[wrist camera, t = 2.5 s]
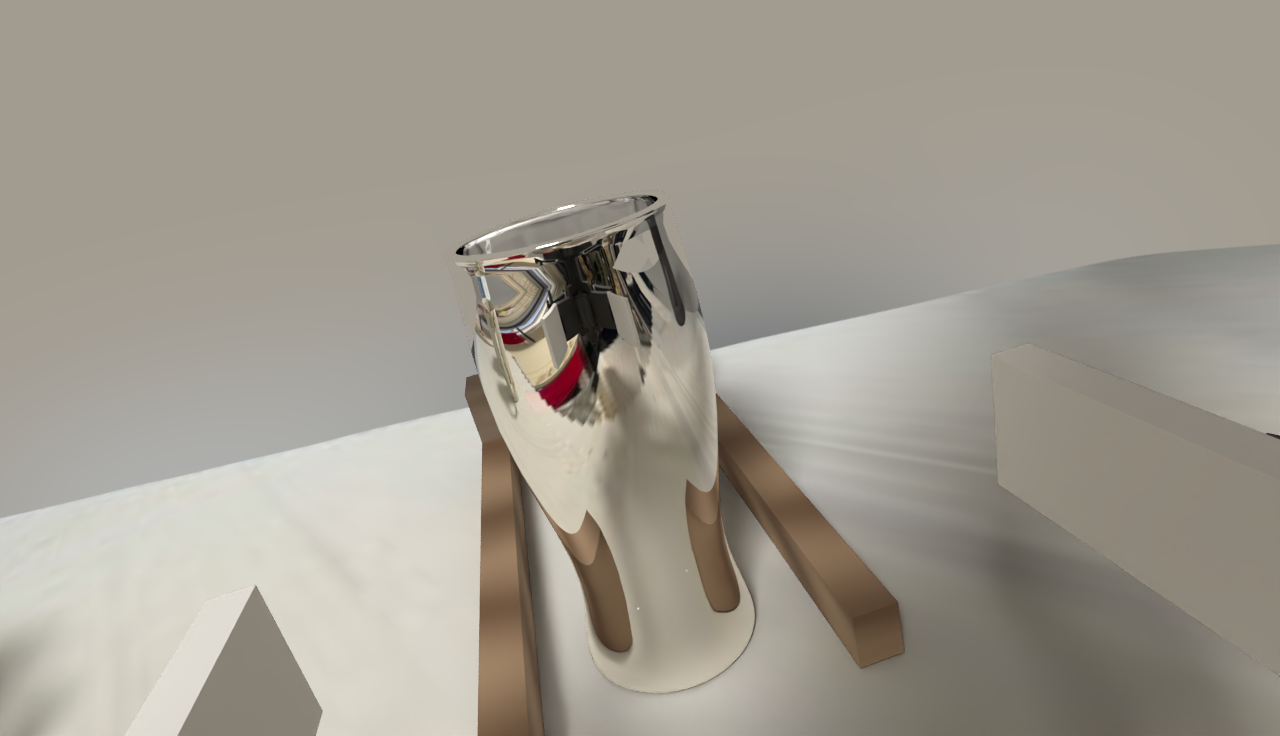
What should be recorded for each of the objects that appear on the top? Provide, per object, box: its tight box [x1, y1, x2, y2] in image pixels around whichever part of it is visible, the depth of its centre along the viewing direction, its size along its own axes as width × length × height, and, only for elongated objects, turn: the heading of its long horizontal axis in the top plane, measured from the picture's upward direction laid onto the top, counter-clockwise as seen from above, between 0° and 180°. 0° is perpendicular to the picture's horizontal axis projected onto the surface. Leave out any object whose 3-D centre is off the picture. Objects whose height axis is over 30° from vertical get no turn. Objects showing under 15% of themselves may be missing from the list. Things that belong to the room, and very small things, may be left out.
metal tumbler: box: [444, 190, 755, 693], centre depth 22 cm, size 7×7×15 cm
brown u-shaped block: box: [465, 374, 904, 736], centre depth 31 cm, size 24×13×5 cm, turn 12°
